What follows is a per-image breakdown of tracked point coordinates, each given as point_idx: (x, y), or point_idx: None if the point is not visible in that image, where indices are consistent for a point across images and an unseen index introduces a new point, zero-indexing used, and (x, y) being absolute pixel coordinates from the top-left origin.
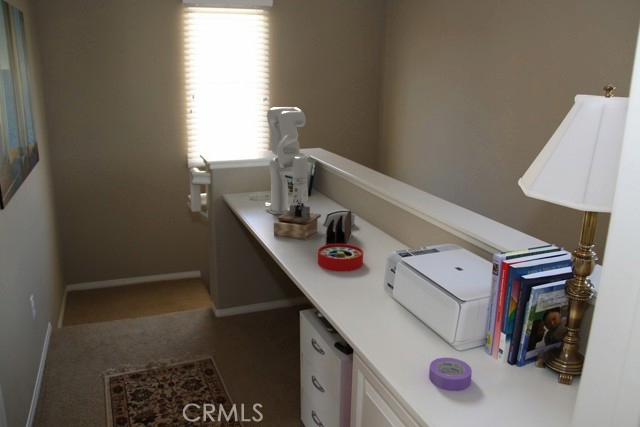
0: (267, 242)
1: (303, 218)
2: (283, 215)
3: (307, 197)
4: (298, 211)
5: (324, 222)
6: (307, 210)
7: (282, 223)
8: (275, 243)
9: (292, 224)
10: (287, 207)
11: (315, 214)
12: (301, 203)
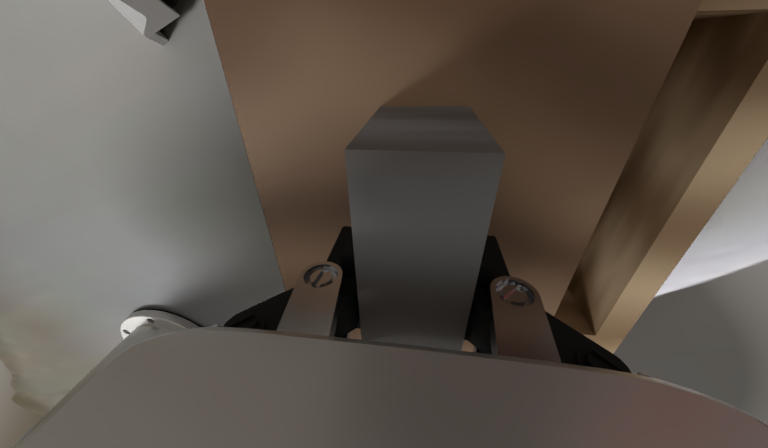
0: (719, 270)
1: (529, 149)
2: (462, 346)
3: (105, 432)
4: (504, 274)
5: (156, 14)
6: (490, 142)
7: (644, 299)
8: (756, 222)
9: (692, 210)
10: (135, 336)
11: (260, 54)
12: (731, 407)
